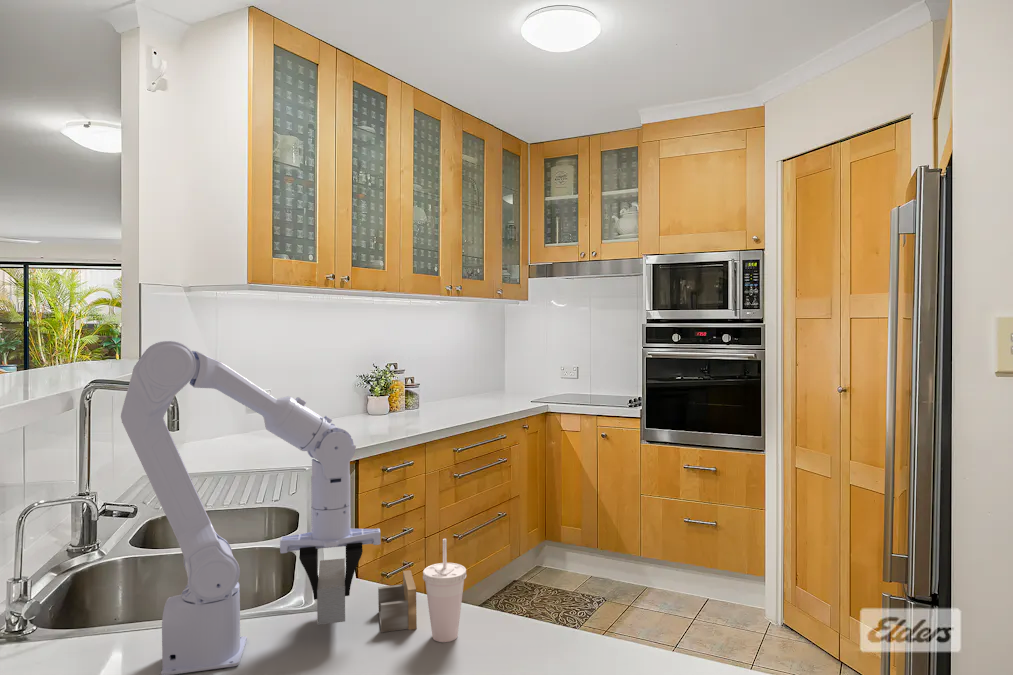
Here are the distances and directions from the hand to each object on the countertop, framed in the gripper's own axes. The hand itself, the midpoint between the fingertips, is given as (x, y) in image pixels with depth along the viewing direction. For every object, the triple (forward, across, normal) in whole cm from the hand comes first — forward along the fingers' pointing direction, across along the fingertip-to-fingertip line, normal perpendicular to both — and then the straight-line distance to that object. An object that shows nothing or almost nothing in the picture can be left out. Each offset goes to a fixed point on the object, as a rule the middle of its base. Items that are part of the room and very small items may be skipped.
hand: (331, 595), depth 96 cm
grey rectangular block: (+2, 0, 0) cm, 2 cm away
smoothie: (+5, +16, -7) cm, 18 cm away
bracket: (+5, +9, 0) cm, 10 cm away
